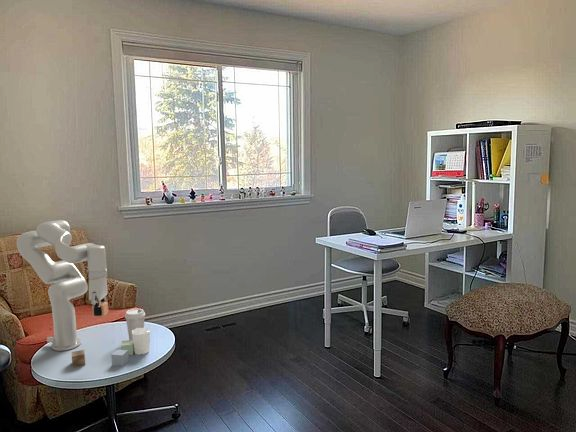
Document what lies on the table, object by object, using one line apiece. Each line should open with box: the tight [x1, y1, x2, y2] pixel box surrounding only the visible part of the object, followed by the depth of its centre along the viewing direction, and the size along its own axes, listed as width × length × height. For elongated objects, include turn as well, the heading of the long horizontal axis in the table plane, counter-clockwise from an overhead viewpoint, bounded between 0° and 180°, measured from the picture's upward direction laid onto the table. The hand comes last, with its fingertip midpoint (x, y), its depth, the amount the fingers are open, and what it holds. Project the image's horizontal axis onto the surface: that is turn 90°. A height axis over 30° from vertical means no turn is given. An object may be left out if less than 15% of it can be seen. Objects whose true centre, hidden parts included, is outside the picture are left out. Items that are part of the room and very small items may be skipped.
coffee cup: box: [124, 308, 146, 340], centre depth 219 cm, size 10×10×15 cm
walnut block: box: [71, 349, 86, 368], centre depth 196 cm, size 5×5×5 cm
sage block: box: [120, 340, 135, 356], centre depth 207 cm, size 5×5×5 cm
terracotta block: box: [91, 301, 109, 318], centre depth 201 cm, size 5×5×5 cm
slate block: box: [110, 349, 129, 367], centre depth 197 cm, size 5×5×5 cm
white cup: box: [132, 327, 151, 356], centre depth 207 cm, size 8×8×10 cm
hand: (100, 312), depth 201 cm, fingers closed on terracotta block, 4 cm apart
